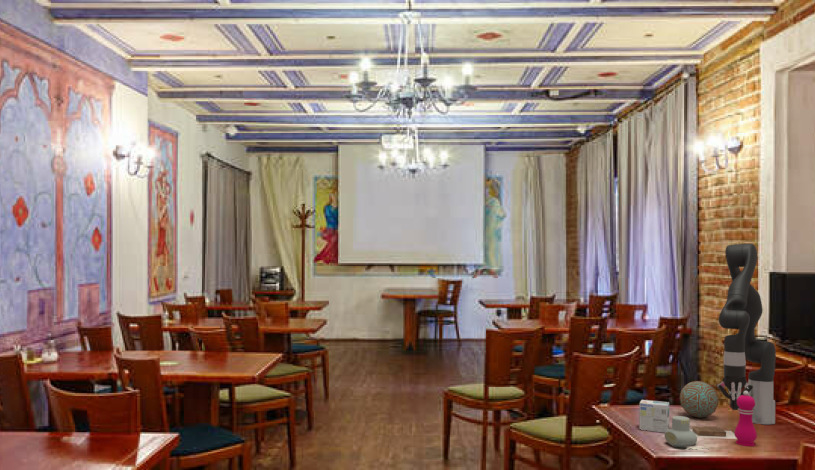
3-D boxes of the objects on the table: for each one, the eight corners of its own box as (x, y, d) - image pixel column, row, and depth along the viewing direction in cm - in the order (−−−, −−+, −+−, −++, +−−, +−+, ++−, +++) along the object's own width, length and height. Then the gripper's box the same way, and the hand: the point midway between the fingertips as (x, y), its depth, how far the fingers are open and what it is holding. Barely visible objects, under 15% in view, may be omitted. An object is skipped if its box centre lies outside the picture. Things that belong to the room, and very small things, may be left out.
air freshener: (700, 449, 254) (700, 420, 254) (680, 450, 252) (680, 422, 252) (680, 441, 265) (680, 413, 265) (661, 442, 262) (661, 414, 262)
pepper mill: (730, 444, 261) (730, 388, 261) (749, 444, 262) (750, 388, 262) (741, 450, 254) (741, 392, 254) (760, 449, 254) (761, 392, 255)
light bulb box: (669, 429, 281) (669, 401, 281) (667, 433, 275) (668, 405, 275) (640, 426, 286) (641, 399, 286) (638, 430, 280) (639, 402, 280)
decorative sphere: (684, 420, 296) (685, 383, 297) (675, 412, 311) (676, 377, 312) (722, 422, 295) (723, 385, 295) (711, 413, 310) (712, 378, 310)
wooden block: (719, 427, 274) (692, 426, 275) (726, 432, 267) (698, 430, 268) (719, 432, 274) (692, 430, 275) (726, 436, 267) (698, 435, 268)
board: (730, 434, 276) (730, 430, 276) (742, 442, 264) (742, 439, 264) (676, 431, 278) (676, 428, 278) (685, 440, 266) (685, 436, 266)
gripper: (748, 361, 274) (749, 407, 274) (712, 361, 275) (713, 407, 275) (756, 365, 267) (757, 412, 267) (719, 365, 268) (720, 411, 268)
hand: (734, 409), depth 271 cm, fingers closed
